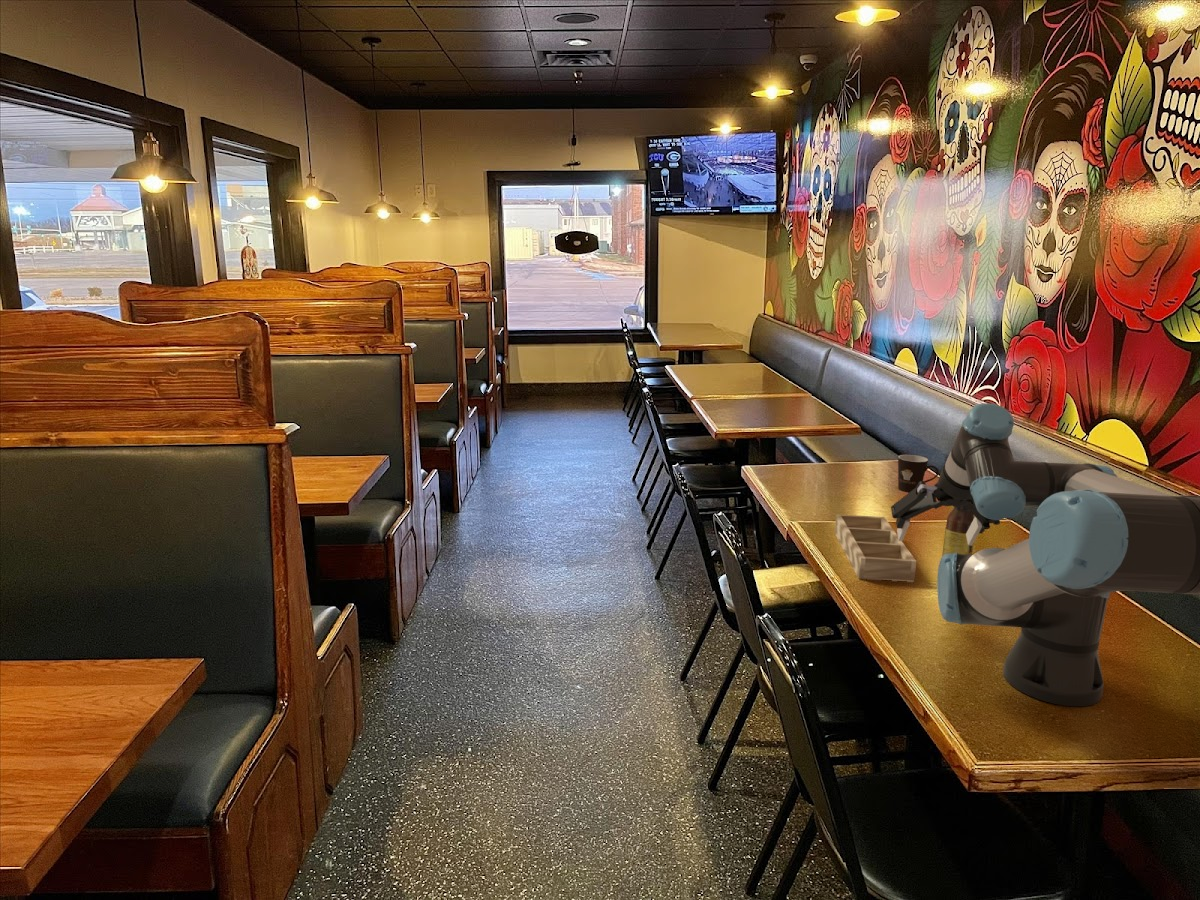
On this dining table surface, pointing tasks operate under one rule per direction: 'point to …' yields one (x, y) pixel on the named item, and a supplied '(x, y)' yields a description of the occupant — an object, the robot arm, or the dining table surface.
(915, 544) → the dining table surface
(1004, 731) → the dining table surface
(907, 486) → the coffee mug
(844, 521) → the condiment rack
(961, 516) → the sauce bottle
